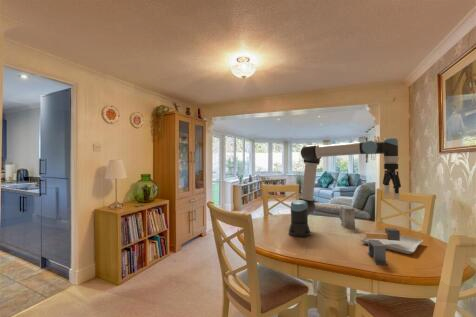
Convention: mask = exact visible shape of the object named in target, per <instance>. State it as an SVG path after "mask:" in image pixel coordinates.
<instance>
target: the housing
mask: <svg viewBox="0 0 476 317" xmlns="http://www.w3.org/2000/svg"><path fill="white" fill-rule="evenodd" d="M386 250H387V249H386V246H385V245H383V244H382V243H381V242H380V241H379V240H369V245H368V252H367V255H368V256H369V257H373V262H374V263H375V265H380V266H388V265H389V264H388V263H387V260H386V258H387V255H386Z"/></svg>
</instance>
